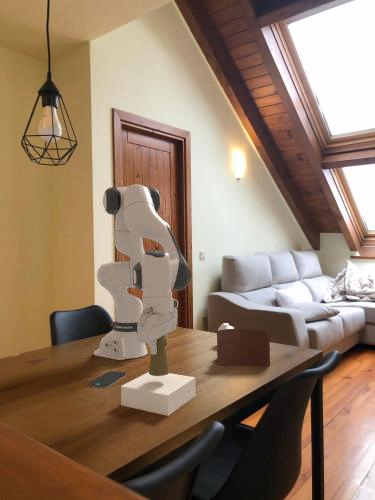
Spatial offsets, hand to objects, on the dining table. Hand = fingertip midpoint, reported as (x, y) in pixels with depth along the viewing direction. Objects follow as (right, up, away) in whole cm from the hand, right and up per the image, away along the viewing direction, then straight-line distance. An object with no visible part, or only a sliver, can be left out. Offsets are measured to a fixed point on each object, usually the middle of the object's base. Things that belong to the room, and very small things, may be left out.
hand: (158, 351), depth 123 cm
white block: (0, -15, 0) cm, 15 cm away
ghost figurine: (+26, -13, +62) cm, 69 cm away
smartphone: (-19, -15, +19) cm, 31 cm away
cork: (0, -7, 0) cm, 6 cm away
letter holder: (+30, -14, +38) cm, 50 cm away
